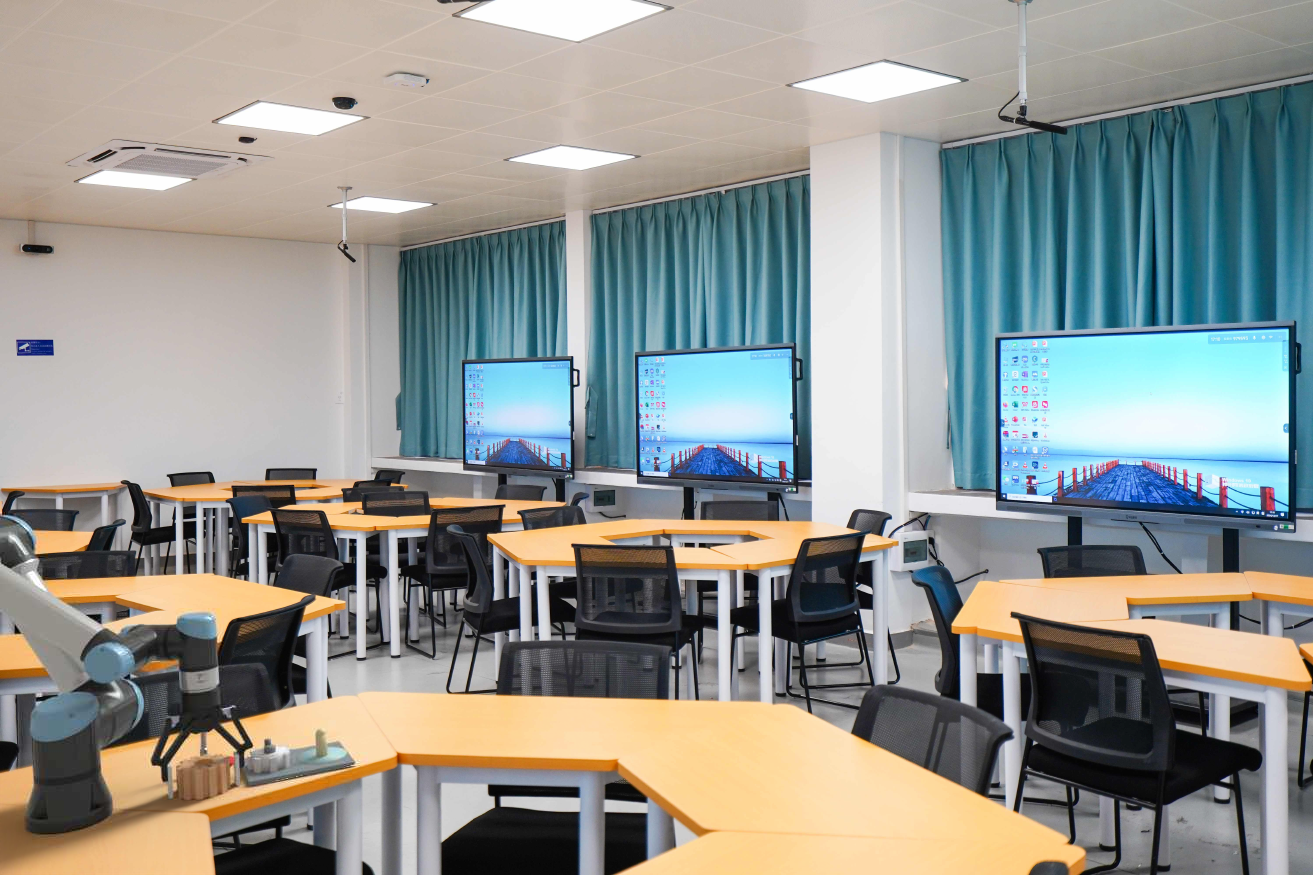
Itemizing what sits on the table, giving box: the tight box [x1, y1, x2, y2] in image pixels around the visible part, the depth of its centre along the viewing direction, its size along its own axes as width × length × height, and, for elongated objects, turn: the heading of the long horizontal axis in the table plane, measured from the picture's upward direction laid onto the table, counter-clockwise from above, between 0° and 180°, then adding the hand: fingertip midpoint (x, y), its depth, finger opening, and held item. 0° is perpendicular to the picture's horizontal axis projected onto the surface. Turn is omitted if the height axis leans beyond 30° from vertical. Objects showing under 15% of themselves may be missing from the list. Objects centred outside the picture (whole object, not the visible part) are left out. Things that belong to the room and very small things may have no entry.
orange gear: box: [175, 753, 232, 801], centre depth 218 cm, size 10×10×6 cm
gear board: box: [240, 728, 356, 787], centre depth 232 cm, size 22×16×7 cm
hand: (204, 789), depth 218 cm, fingers open, 12 cm apart
